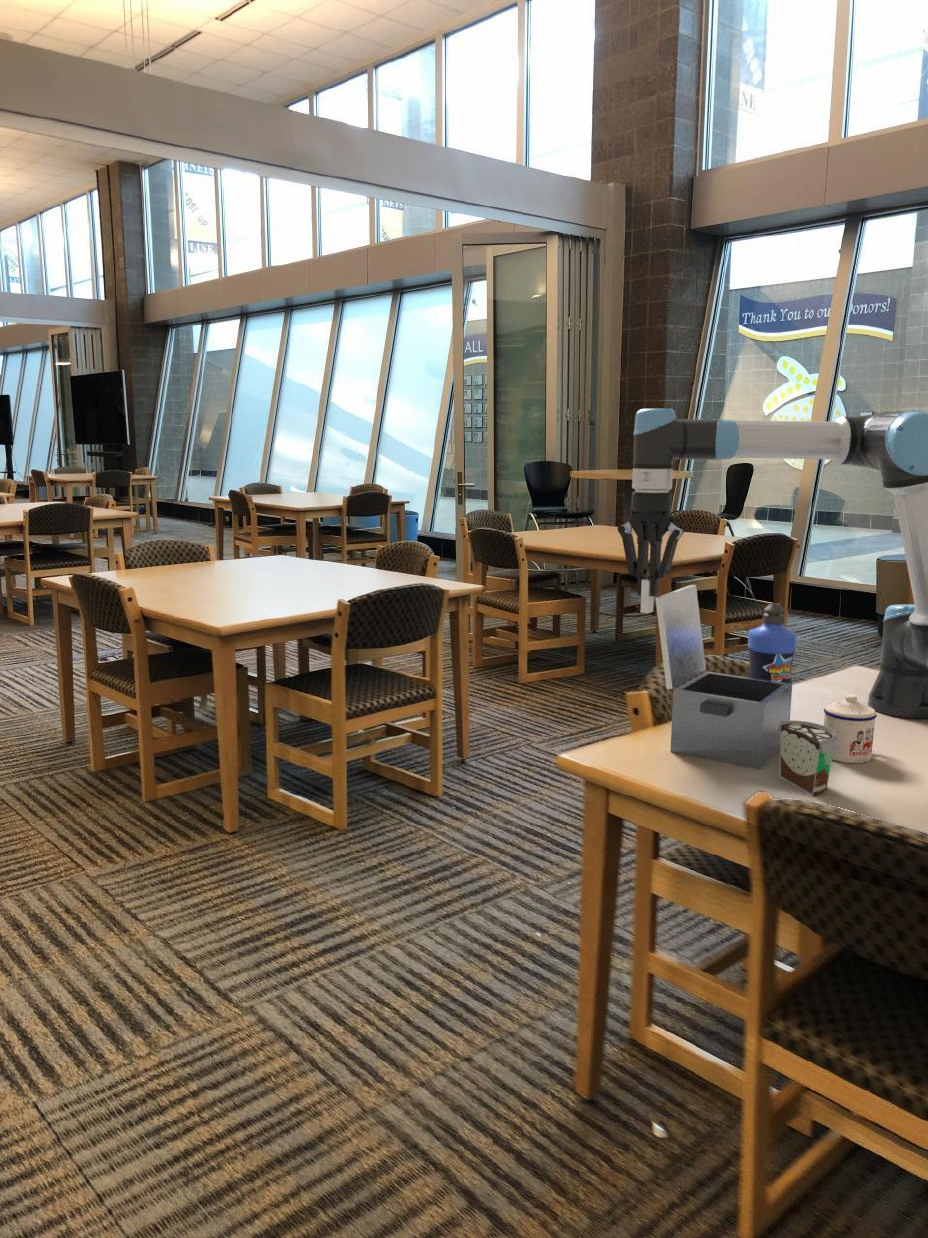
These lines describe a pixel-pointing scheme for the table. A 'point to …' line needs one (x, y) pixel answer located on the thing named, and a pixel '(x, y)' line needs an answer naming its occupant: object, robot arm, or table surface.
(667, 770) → the table surface
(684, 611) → the grey box lid
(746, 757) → the grey storage box
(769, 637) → the water bottle
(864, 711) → the teacup with lid
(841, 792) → the table surface
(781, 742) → the food container
